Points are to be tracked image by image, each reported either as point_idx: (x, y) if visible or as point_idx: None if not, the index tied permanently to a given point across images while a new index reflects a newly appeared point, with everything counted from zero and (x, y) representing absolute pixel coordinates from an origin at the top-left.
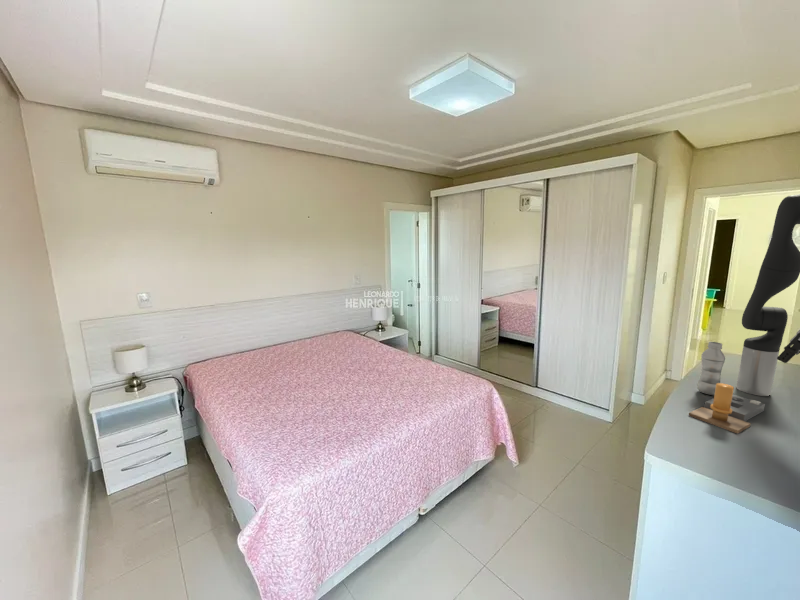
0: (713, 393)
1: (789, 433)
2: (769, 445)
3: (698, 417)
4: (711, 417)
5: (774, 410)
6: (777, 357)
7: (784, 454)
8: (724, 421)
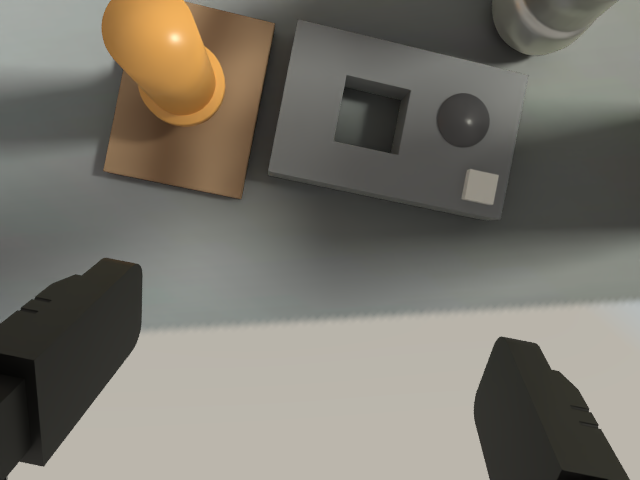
0: (502, 35)
1: (293, 311)
2: None
3: None
4: None
5: (528, 250)
6: (101, 262)
7: None
8: None
